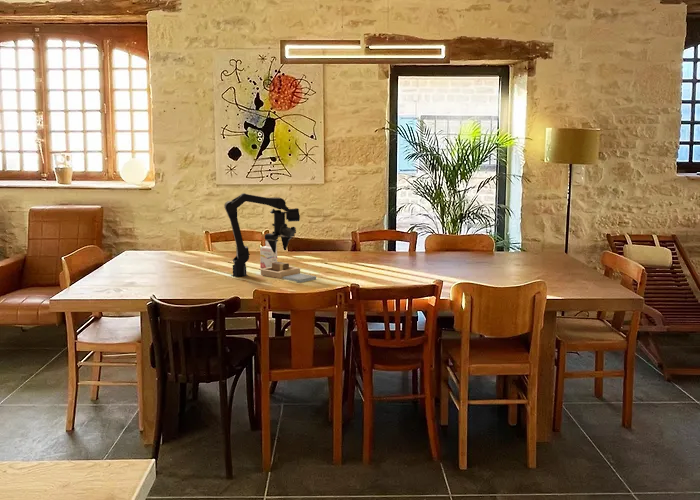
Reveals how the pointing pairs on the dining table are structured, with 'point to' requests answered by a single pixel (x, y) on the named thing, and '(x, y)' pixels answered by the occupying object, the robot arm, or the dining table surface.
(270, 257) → the ink cartridge box
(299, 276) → the trivet
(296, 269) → the beige shallow square tray
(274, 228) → the robot arm
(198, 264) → the dining table surface
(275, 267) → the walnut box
